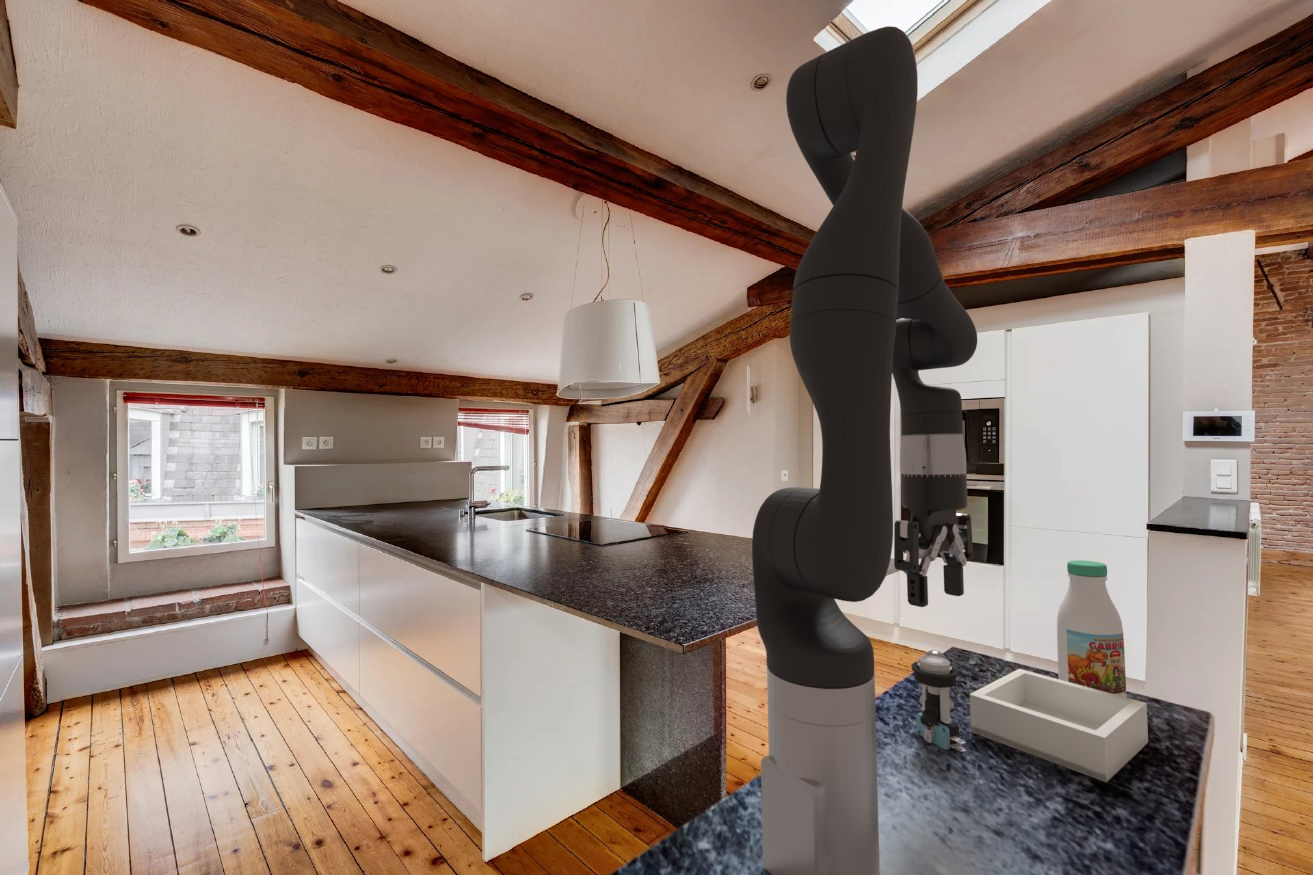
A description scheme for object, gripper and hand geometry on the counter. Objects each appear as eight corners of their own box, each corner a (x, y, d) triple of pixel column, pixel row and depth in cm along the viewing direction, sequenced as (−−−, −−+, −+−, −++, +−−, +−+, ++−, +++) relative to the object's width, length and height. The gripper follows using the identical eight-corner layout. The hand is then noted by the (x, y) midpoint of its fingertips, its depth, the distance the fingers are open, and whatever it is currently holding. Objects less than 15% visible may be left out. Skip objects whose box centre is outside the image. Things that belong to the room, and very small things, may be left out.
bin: (1106, 782, 62) (1104, 737, 63) (970, 731, 74) (969, 694, 74) (1148, 742, 71) (1146, 702, 71) (1020, 702, 82) (1019, 668, 83)
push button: (980, 751, 69) (977, 668, 69) (946, 760, 67) (943, 674, 68) (936, 727, 75) (933, 650, 76) (904, 734, 74) (901, 656, 74)
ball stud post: (943, 714, 79) (941, 658, 79) (913, 703, 83) (912, 649, 83) (959, 706, 82) (958, 651, 82) (929, 695, 85) (928, 643, 85)
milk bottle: (1047, 697, 84) (1042, 560, 84) (1078, 688, 87) (1073, 555, 88) (1107, 719, 77) (1101, 569, 77) (1138, 708, 80) (1132, 564, 81)
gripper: (931, 473, 65) (935, 616, 65) (990, 469, 73) (995, 596, 73) (872, 472, 71) (876, 603, 71) (933, 469, 80) (937, 586, 79)
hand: (936, 600), depth 72 cm, fingers open, 8 cm apart
